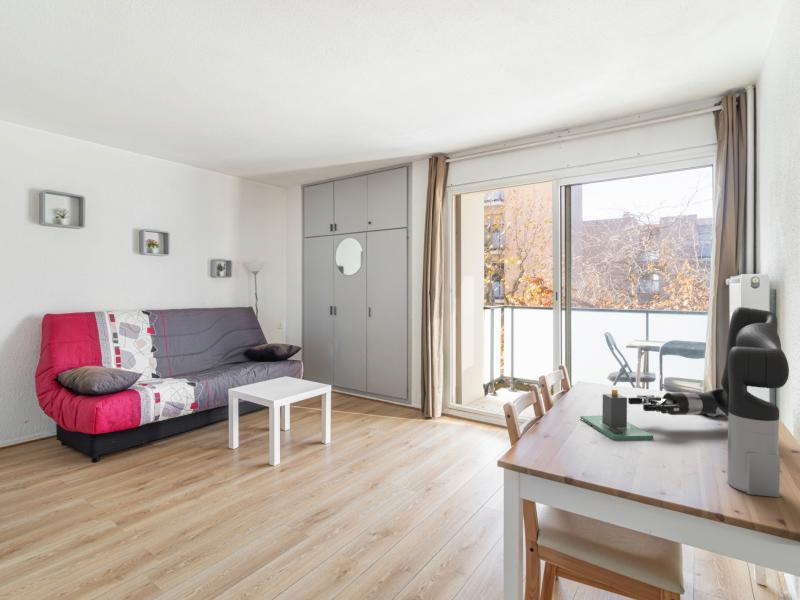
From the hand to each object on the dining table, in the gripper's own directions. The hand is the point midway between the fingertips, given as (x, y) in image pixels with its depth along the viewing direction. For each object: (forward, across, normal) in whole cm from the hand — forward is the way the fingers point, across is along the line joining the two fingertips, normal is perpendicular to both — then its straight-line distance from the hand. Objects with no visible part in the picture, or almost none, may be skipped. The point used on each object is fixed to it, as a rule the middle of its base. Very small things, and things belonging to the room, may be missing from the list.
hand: (636, 404), depth 144 cm
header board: (+8, 0, +8) cm, 11 cm away
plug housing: (+8, 0, +7) cm, 10 cm away
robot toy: (-36, -17, +9) cm, 41 cm away
